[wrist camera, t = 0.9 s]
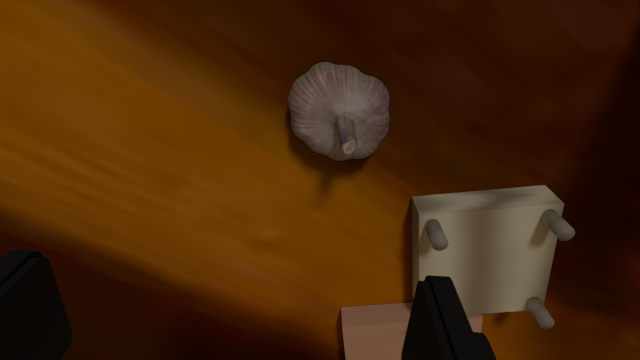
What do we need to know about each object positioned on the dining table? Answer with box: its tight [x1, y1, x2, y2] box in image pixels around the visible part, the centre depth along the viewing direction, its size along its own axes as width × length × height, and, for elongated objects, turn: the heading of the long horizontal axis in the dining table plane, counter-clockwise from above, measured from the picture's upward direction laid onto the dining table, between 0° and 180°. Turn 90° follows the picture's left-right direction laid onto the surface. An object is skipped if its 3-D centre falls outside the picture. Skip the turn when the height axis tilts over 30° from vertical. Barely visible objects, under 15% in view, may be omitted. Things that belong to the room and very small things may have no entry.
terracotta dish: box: [341, 302, 483, 360], centre depth 41 cm, size 13×13×2 cm
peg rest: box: [412, 185, 575, 329], centre depth 33 cm, size 11×11×6 cm
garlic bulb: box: [288, 62, 390, 161], centre depth 27 cm, size 8×7×8 cm
